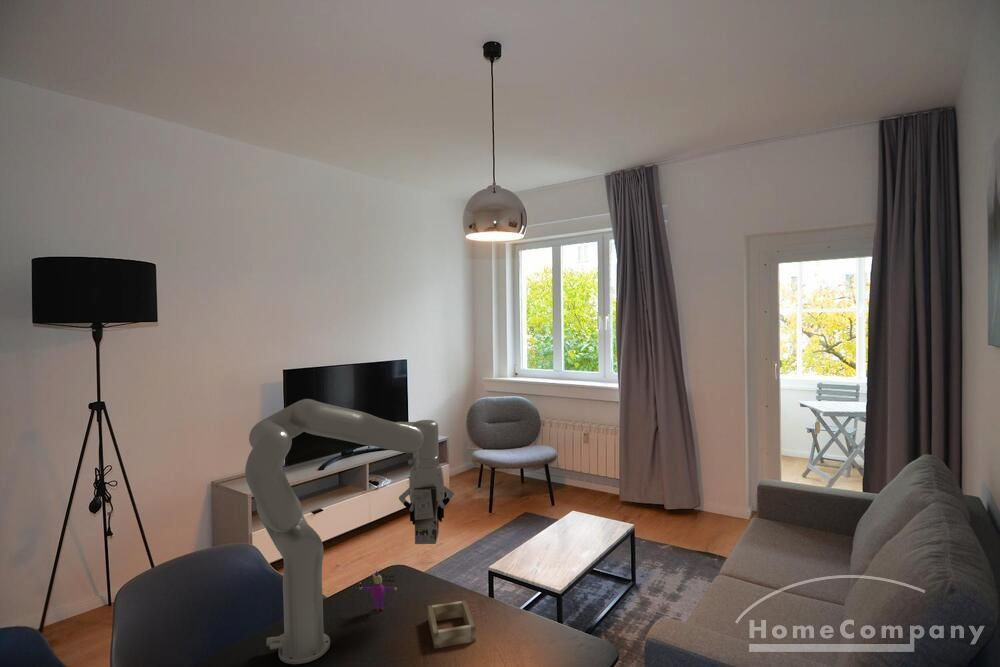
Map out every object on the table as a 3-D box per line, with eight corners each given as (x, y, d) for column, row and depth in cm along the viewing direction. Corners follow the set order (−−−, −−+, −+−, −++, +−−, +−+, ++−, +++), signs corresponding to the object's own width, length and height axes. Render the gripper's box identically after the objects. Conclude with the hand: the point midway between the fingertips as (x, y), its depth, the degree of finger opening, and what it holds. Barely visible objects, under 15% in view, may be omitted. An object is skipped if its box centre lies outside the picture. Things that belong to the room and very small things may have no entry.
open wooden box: (434, 648, 138) (434, 633, 138) (428, 619, 152) (427, 605, 152) (475, 641, 141) (475, 626, 141) (466, 613, 155) (465, 600, 155)
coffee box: (436, 544, 155) (435, 488, 155) (414, 544, 155) (413, 489, 155) (439, 532, 164) (438, 479, 164) (418, 532, 164) (417, 480, 164)
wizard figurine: (398, 608, 159) (397, 568, 158) (395, 614, 155) (394, 573, 155) (361, 607, 159) (360, 567, 159) (357, 613, 156) (356, 572, 156)
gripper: (397, 467, 153) (398, 529, 154) (457, 463, 158) (458, 523, 158) (395, 461, 161) (396, 520, 161) (453, 457, 165) (454, 514, 165)
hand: (427, 521), depth 159 cm, fingers closed on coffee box, 7 cm apart
